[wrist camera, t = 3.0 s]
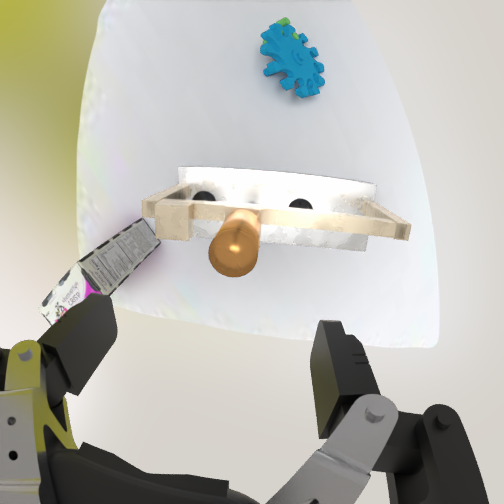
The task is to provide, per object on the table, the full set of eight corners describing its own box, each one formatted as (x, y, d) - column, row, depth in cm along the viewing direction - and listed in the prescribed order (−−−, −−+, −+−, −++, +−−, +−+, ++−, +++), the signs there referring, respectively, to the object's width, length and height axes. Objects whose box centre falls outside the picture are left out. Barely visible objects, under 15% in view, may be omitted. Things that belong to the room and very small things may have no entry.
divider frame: (181, 166, 34) (133, 178, 22) (372, 183, 33) (423, 205, 21) (181, 231, 38) (139, 275, 25) (361, 247, 37) (400, 297, 24)
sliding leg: (240, 187, 33) (208, 227, 17) (265, 189, 33) (259, 231, 16) (238, 212, 34) (208, 276, 18) (263, 214, 34) (255, 280, 18)
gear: (335, 102, 29) (276, 85, 23) (298, 112, 33) (238, 103, 27) (318, 30, 26) (261, 3, 20) (286, 45, 31) (228, 26, 25)
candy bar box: (118, 280, 41) (61, 340, 26) (99, 256, 40) (35, 308, 25) (164, 243, 38) (106, 301, 23) (143, 215, 37) (74, 260, 22)
